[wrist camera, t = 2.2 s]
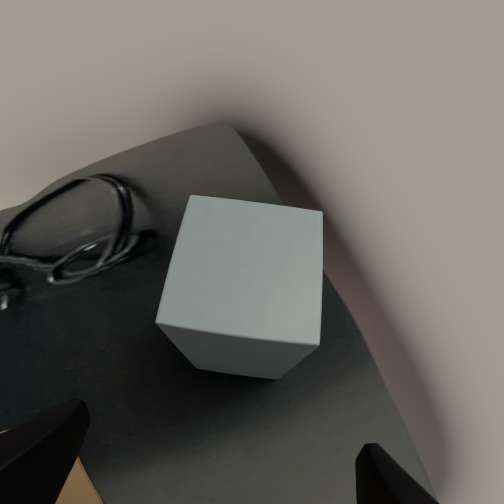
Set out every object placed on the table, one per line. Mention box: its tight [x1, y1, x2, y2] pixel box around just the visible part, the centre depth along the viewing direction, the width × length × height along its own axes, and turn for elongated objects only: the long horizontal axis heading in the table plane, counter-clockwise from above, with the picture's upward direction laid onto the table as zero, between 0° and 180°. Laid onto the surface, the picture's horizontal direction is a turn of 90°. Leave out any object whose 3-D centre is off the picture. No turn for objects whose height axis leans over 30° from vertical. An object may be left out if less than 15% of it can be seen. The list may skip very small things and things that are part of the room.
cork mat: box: [0, 429, 104, 504], centre depth 15 cm, size 9×9×1 cm
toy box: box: [156, 195, 323, 379], centre depth 17 cm, size 6×6×12 cm
